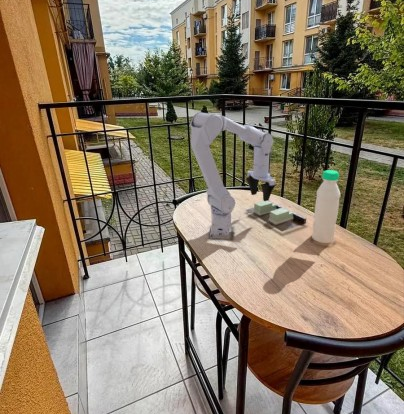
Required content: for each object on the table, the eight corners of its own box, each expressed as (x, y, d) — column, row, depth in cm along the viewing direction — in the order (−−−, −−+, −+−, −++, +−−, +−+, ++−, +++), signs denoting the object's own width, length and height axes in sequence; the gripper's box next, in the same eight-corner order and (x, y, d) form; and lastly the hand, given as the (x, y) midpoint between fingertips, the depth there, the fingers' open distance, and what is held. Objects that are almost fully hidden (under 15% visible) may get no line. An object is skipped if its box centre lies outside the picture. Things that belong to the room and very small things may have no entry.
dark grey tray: (281, 235, 101) (282, 226, 100) (245, 213, 120) (245, 205, 118) (305, 226, 106) (306, 218, 105) (267, 206, 125) (267, 199, 123)
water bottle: (335, 247, 92) (346, 175, 84) (313, 245, 94) (321, 174, 85) (331, 236, 99) (340, 168, 90) (309, 235, 100) (317, 168, 91)
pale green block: (275, 224, 106) (276, 215, 104) (268, 220, 109) (268, 211, 107) (293, 219, 109) (294, 209, 108) (285, 215, 113) (286, 206, 111)
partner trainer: (259, 215, 113) (259, 206, 112) (253, 212, 117) (253, 203, 115) (276, 210, 117) (277, 201, 116) (270, 207, 121) (270, 198, 119)
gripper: (282, 166, 102) (280, 201, 107) (257, 158, 114) (256, 190, 119) (267, 170, 99) (265, 205, 104) (243, 161, 111) (242, 193, 116)
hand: (259, 197), depth 111 cm, fingers open, 7 cm apart
